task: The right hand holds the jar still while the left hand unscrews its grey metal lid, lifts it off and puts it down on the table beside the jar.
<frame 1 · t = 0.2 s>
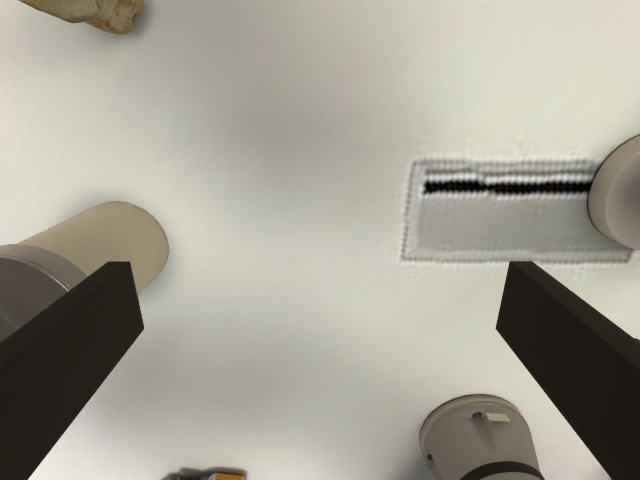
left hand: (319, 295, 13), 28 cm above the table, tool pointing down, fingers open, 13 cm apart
jar: (124, 243, 42), on the table
lid: (17, 321, 27), point 16 cm above the table, screwed on, not yet turned
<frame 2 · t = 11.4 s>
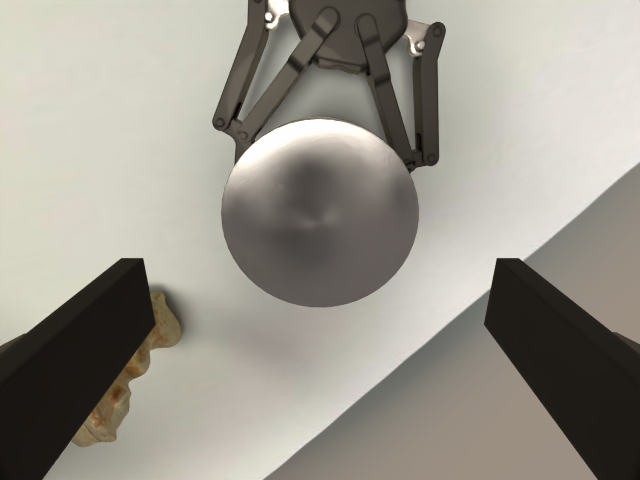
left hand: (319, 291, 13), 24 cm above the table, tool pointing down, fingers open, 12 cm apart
right hand: (312, 230, 31), fingers closed on jar, 10 cm apart
sculpture: (159, 311, 41), on the table
lid: (320, 220, 21), point 16 cm above the table, screwed on, not yet turned
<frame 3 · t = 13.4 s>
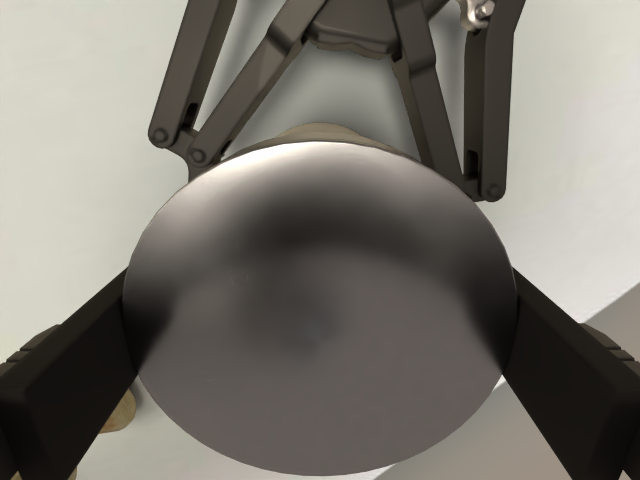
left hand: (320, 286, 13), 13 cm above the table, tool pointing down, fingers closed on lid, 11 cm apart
right hand: (308, 292, 21), fingers closed on jar, 10 cm apart
jar: (319, 197, 25), on the table, touching right hand
sculpture: (107, 379, 31), on the table
lid: (319, 334, 11), point 16 cm above the table, screwed on, not yet turned, touching left hand
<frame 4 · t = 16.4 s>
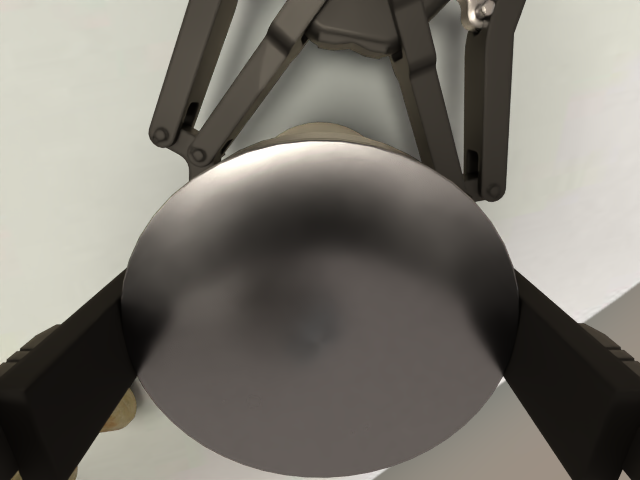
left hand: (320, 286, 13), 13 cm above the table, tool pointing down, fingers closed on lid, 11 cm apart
right hand: (308, 291, 21), fingers closed on jar, 10 cm apart
jar: (320, 197, 26), on the table, touching right hand
sculpture: (108, 378, 31), on the table
lid: (320, 334, 11), point 16 cm above the table, turned 91° so far, risen 0.1 cm, still on its thread, touching left hand
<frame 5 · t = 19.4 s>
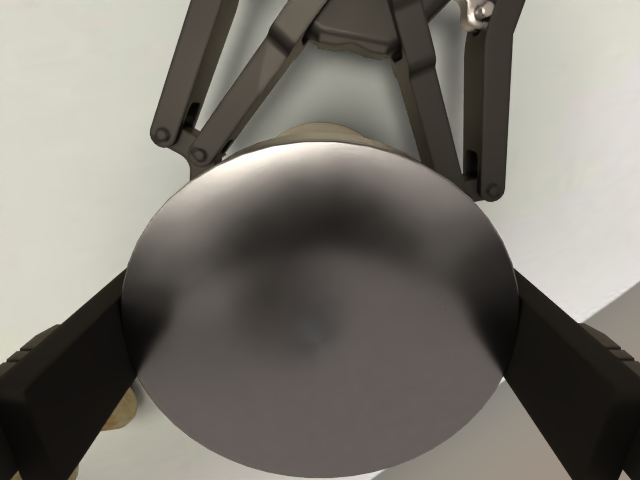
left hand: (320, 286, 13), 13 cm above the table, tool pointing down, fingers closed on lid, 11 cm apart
right hand: (308, 290, 21), fingers closed on jar, 10 cm apart
jar: (320, 197, 26), on the table, touching right hand
sculpture: (108, 377, 31), on the table
lid: (320, 335, 11), point 16 cm above the table, turned 182° so far, risen 0.2 cm, still on its thread, touching left hand
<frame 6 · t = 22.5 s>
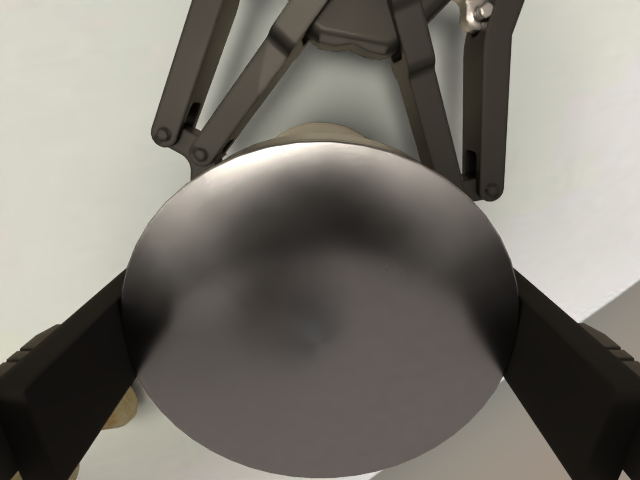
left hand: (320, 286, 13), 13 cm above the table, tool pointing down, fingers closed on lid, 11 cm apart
right hand: (308, 289, 22), fingers closed on jar, 10 cm apart
jar: (320, 197, 26), on the table, touching right hand
sculpture: (109, 376, 32), on the table
lid: (320, 335, 11), point 16 cm above the table, turned 274° so far, risen 0.3 cm, still on its thread, touching left hand
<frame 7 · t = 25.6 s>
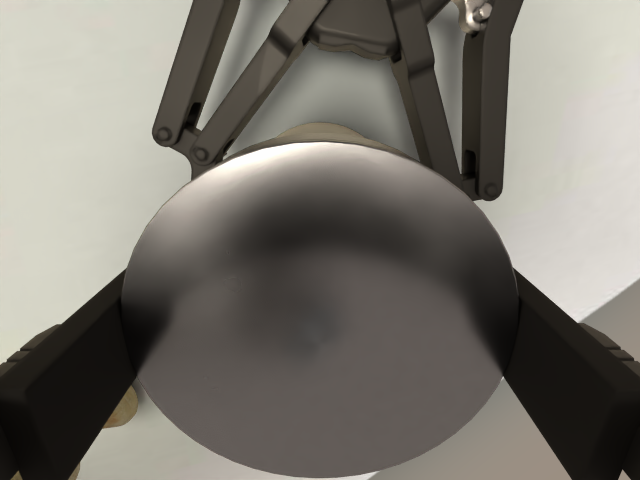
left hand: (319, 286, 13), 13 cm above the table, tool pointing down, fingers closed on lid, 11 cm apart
right hand: (308, 288, 22), fingers closed on jar, 10 cm apart
jar: (320, 196, 26), on the table, touching right hand
sculpture: (109, 375, 32), on the table
lid: (319, 335, 11), point 16 cm above the table, turned 365° so far, risen 0.4 cm, still on its thread, touching left hand
when the left hand's fingers open (0 cm above the table, at t = 35.5 s): lid drops 1 cm, point 2 cm above the table.
when the right hand's fingers open (6 cm above the table, at t = 36.5 s): jar stays where it is, on the table.
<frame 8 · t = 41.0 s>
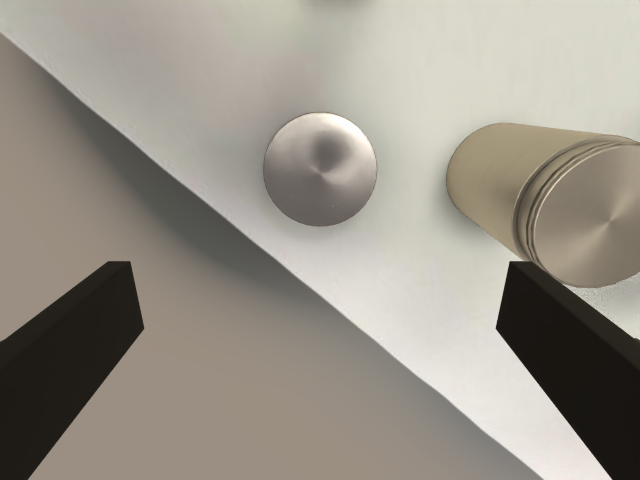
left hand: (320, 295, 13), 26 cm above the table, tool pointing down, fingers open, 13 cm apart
jar: (495, 173, 38), on the table
lid: (320, 172, 35), point 2 cm above the table, off its thread
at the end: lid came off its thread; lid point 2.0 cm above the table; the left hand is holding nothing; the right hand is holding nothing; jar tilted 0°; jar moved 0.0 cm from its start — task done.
